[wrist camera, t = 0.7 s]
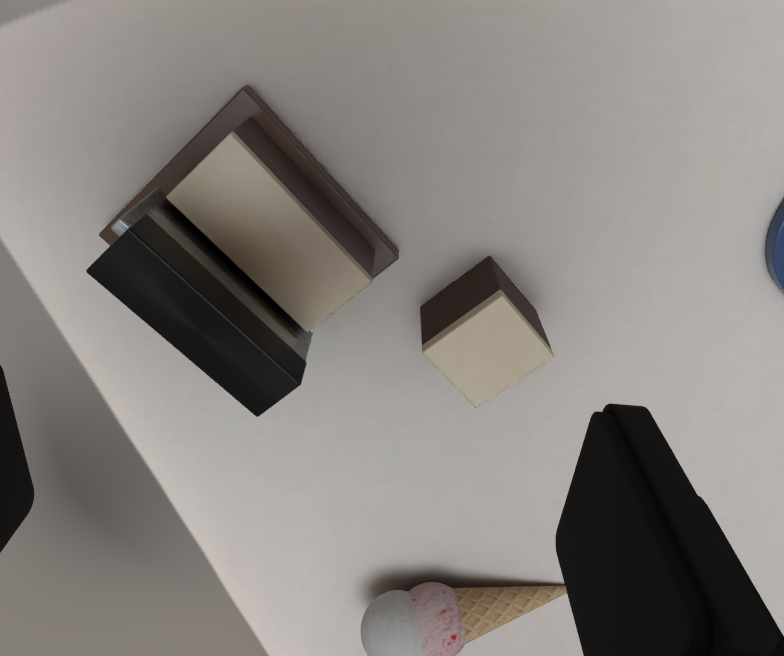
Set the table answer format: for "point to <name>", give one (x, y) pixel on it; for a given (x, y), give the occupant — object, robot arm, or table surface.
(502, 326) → the two-tone brown cube
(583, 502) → the robot arm
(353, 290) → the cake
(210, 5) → the table surface
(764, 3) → the table surface
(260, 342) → the black and silver bar
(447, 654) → the ice cream cone
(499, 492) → the table surface
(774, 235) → the plate
